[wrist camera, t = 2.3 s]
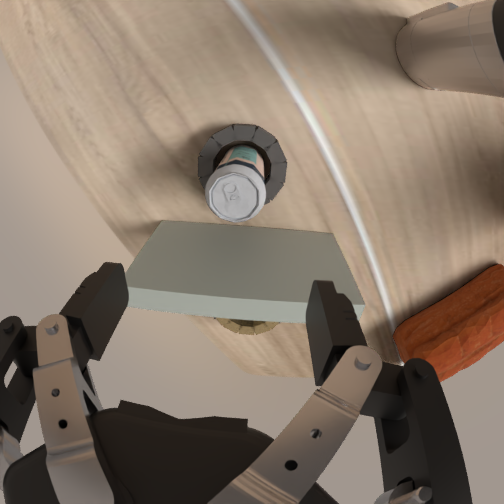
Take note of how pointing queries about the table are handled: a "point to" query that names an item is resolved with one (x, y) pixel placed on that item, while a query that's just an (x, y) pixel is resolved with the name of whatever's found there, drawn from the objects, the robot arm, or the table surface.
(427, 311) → the bread
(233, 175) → the beer can
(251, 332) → the keeper socket
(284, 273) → the board
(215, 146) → the cradle
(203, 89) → the table surface
